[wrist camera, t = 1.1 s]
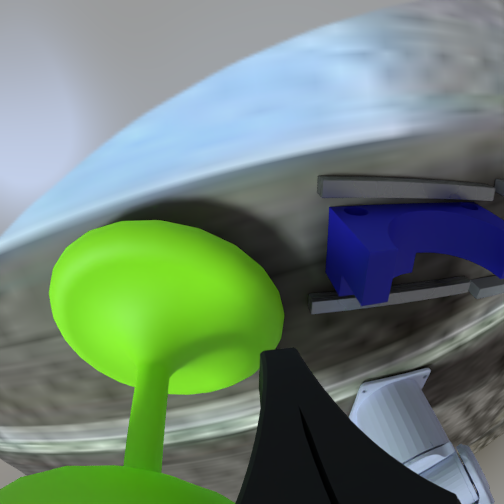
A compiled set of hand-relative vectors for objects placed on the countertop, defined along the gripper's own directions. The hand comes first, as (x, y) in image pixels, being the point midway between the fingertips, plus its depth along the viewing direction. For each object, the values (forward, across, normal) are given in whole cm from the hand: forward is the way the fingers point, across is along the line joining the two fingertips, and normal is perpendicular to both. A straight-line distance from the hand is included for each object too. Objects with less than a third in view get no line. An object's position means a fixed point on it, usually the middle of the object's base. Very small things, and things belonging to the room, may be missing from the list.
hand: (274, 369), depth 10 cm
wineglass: (+9, +5, +6) cm, 12 cm away
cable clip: (+10, -11, +1) cm, 15 cm away
